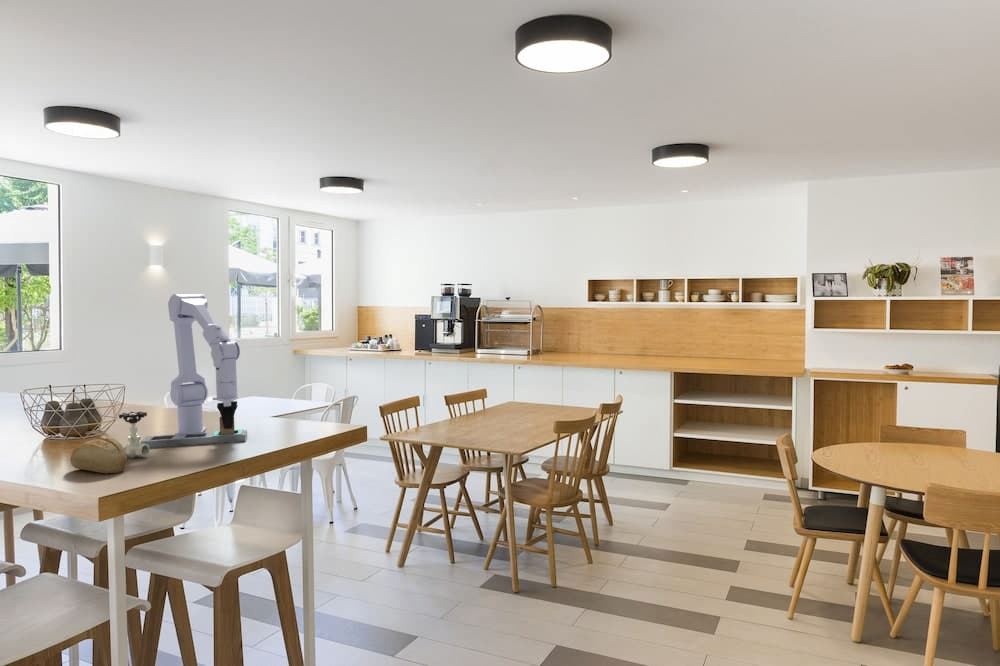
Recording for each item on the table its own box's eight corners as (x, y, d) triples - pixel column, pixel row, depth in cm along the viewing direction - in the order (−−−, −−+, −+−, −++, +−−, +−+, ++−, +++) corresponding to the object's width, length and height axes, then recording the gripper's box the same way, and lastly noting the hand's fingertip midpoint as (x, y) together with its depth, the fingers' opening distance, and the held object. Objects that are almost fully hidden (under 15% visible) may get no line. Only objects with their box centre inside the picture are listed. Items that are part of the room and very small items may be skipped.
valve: (136, 461, 181) (134, 415, 180) (115, 460, 182) (113, 415, 181) (154, 455, 187) (152, 411, 187) (133, 454, 188) (131, 411, 188)
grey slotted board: (146, 443, 204) (146, 435, 203) (247, 436, 211) (247, 429, 211) (140, 448, 196) (140, 440, 196) (245, 441, 204) (245, 433, 203)
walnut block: (220, 436, 207) (219, 416, 207) (234, 435, 208) (233, 415, 208) (220, 439, 203) (219, 418, 203) (234, 437, 205) (234, 417, 204)
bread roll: (94, 464, 178) (93, 434, 177) (139, 468, 173) (137, 437, 172) (59, 473, 169) (58, 441, 168) (105, 478, 164) (104, 444, 163)
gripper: (212, 380, 210) (213, 424, 211) (211, 385, 197) (213, 432, 198) (236, 378, 213) (238, 422, 214) (237, 383, 200) (239, 430, 200)
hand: (228, 427), depth 206 cm, fingers closed on walnut block, 4 cm apart
